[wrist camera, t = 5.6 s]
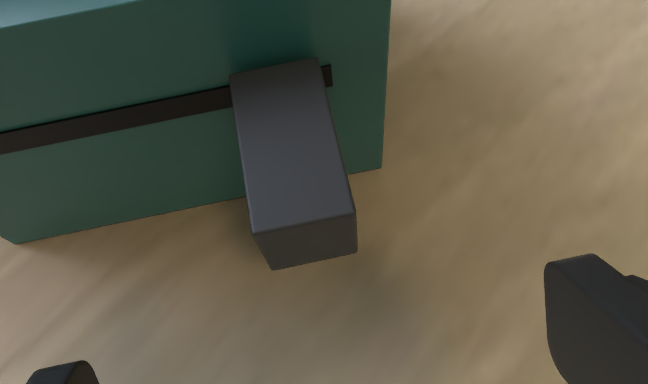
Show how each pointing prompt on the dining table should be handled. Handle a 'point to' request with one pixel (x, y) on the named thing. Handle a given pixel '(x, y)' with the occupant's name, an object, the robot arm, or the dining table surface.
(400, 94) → the dining table surface
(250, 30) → the toaster
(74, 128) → the toaster trim
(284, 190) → the slider
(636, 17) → the dining table surface
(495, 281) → the dining table surface
